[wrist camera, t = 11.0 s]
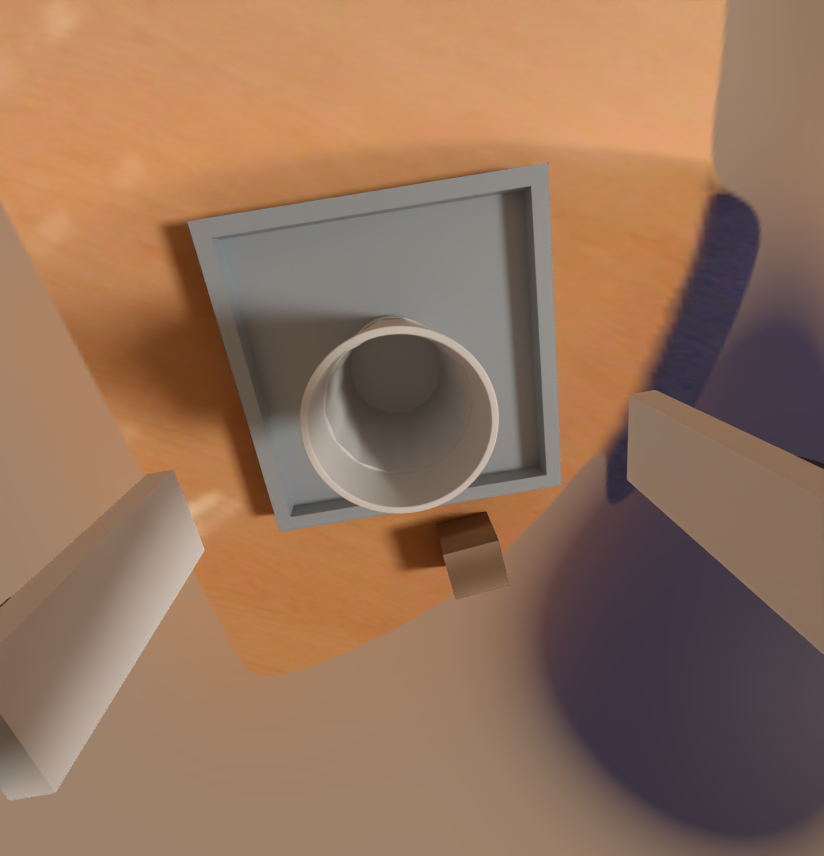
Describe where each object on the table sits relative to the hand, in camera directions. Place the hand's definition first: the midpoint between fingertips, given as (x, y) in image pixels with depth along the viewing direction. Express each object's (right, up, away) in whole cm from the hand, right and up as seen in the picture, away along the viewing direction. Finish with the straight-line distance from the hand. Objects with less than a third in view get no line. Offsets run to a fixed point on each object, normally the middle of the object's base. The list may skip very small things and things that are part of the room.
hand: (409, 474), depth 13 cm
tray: (-1, +6, +17) cm, 18 cm away
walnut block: (+4, -7, +22) cm, 24 cm away
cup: (-1, +6, +16) cm, 17 cm away
